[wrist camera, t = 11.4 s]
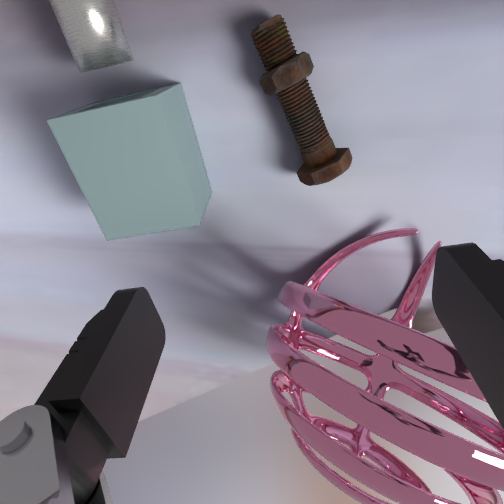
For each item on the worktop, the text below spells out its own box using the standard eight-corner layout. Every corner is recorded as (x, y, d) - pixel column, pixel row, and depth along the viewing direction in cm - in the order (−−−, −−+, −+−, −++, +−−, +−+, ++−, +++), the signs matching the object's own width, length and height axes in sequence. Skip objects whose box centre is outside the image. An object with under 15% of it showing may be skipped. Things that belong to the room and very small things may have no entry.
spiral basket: (562, 154, 17) (366, 680, 16) (676, 309, 30) (574, 603, 29) (277, 180, 42) (190, 386, 40) (408, 259, 55) (346, 417, 54)
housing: (180, 82, 34) (157, 95, 27) (212, 192, 40) (199, 225, 33) (91, 103, 36) (46, 120, 28) (134, 206, 42) (106, 240, 35)
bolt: (273, 20, 33) (329, 160, 39) (230, 44, 32) (295, 183, 38) (304, -4, 27) (363, 161, 34) (255, 24, 26) (324, 188, 33)
